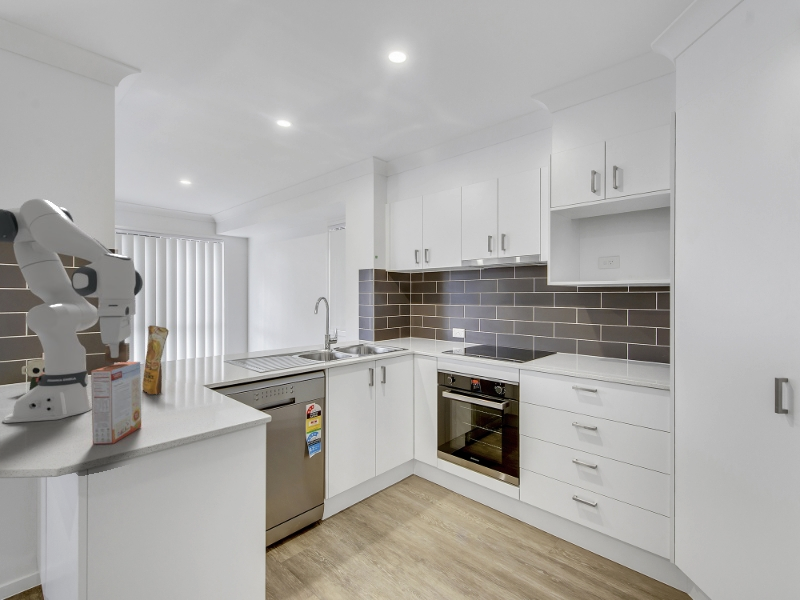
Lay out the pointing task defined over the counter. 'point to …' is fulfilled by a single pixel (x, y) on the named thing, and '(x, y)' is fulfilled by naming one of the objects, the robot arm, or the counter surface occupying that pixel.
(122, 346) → the walnut cube
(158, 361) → the pancake mix bag
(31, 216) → the robot arm
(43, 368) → the character mug
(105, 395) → the cracker box
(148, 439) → the counter surface
